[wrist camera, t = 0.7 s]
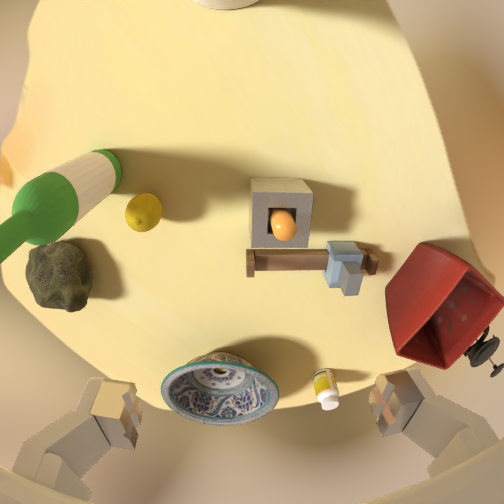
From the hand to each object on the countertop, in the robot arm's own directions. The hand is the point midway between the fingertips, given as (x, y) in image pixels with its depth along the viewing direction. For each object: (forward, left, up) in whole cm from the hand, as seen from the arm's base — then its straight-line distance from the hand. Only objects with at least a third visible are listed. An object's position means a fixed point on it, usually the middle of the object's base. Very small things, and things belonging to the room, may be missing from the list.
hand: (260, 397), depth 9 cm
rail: (+17, +12, -39) cm, 44 cm away
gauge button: (+7, +5, -33) cm, 34 cm away
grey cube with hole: (+7, +5, -39) cm, 40 cm away
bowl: (+46, -5, -39) cm, 61 cm away
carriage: (+17, +17, -39) cm, 46 cm away
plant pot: (+22, +37, -39) cm, 58 cm away
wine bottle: (+1, -23, -39) cm, 46 cm away
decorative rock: (+19, -36, -40) cm, 56 cm away
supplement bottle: (+51, +20, -39) cm, 67 cm away
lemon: (+7, -15, -39) cm, 43 cm away
